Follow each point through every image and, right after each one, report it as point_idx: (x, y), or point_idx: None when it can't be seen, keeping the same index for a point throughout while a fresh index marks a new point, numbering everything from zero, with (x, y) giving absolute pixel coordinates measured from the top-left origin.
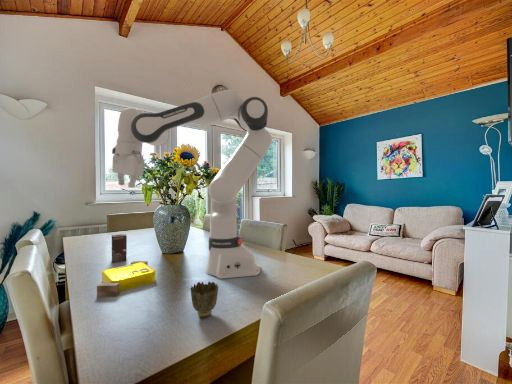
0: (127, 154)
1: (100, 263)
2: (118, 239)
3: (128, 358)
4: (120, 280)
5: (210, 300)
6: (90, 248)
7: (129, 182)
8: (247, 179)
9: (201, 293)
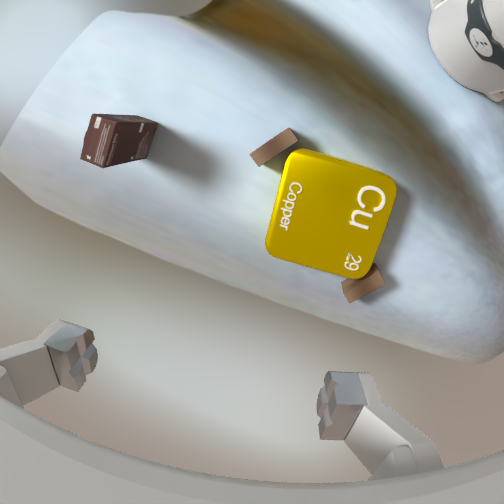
0: None
1: (130, 180)
2: (115, 148)
3: (499, 337)
4: (370, 265)
5: None
6: (10, 148)
7: (344, 441)
8: None
9: None
